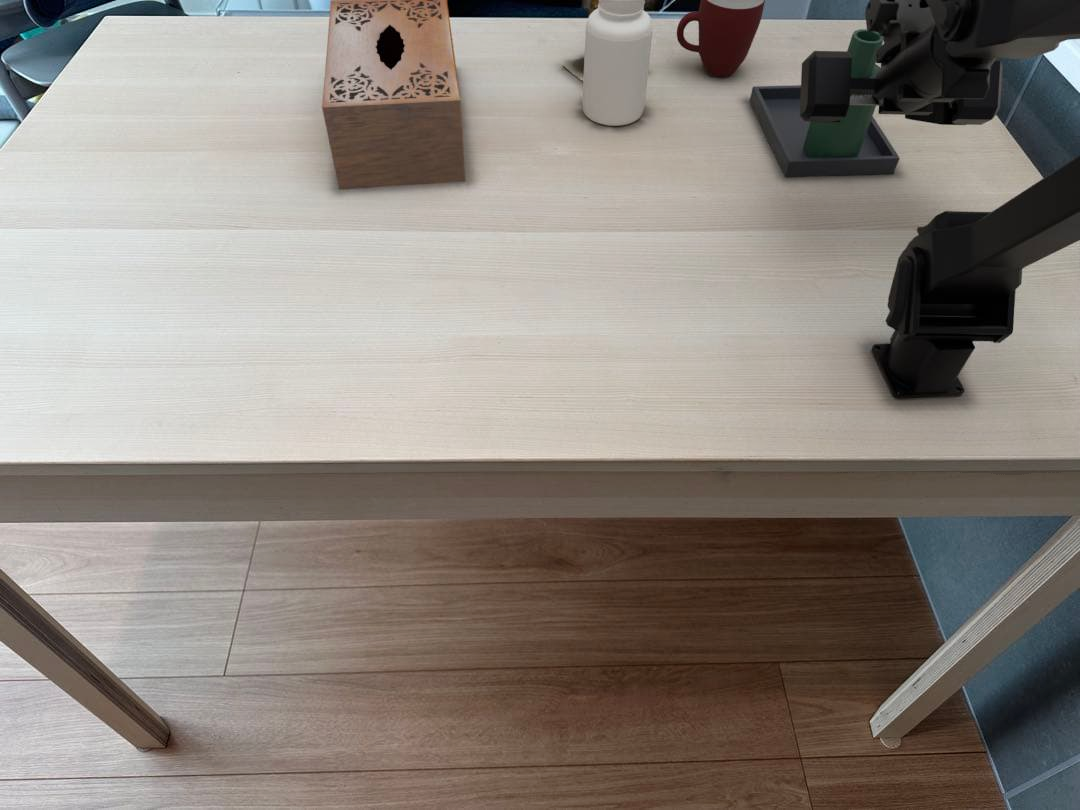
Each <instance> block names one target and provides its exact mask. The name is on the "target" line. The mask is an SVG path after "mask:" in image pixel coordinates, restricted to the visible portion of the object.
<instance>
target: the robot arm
mask: <svg viewBox="0 0 1080 810" xmlns="http://www.w3.org/2000/svg"><path fill="white" fill-rule="evenodd" d="M864 16H865V26H866V29H867V30H868V31H869V32H878V33H879V36H883V43H882V46H881V47H880V48H878V49H877V53H876V64H880V69H879V70H878V72H877V74H876V77H875V78H851V66H852V57H851V55H850V53H849V51H847V50H846V51H845V50H844V51H843V50H813V51H812V52H811V54H809V55H808V56H807V57H806V58H805V59H804V60H803V61H802V63H801V74H800V75H801V76H800V77H801V78H800V85H801V98H800V116H801V118H802V119H803V120H804V121H805V122H823V123H840V120H842V119H843V118H845V117H846V114H847V111H848V108H849V105H873V106H876V107H877V106H878V115H899V116H900V115H901V116H902V115H904V118H905V119H906V120H911V121H915V122H916V121H917V122H923V123H929V124H934V125H939V126H940V125H941V126H969V125H971V126H972V125H973V126H982V125H984V124H986V123H988V122H990V121H992V120H993V119H994V118H995V117H996V116H997V114H998V112H999V111H1000V108H1001V101H1002V100H1001V99H1002V84H1003V69H1004V68H1003V67H1004V65H1003V63H1002V61H1001V60H1000V59H1014V60H1015V59H1016V60H1017V59H1019V60H1029V59H1033V58H1036V57H1038V56H1043V55H1045V54H1047V53H1051V52H1053V51H1055V50H1057V49H1058V48H1059V46H1060V43H1062V42H1065V41H1068V40H1080V0H869V1H868V3H867V4H866V6H865V11H864ZM850 94H852V96H851V95H850ZM854 94H856V96H855V95H854ZM858 94H860V96H859V95H858ZM862 94H864V96H863V95H862ZM866 94H868V96H867V95H866ZM870 94H873V95H872V96H871V95H870ZM874 94H875V95H874ZM916 233H917V235H916V236H914V237H913V238H912V239H911V240H910V241H909V242H908V243H907V245H906V247H905V248H904V250H902V252H901V253H900V255H899V257H898V258H897V263H896V266H895V270H894V273H893V278H892V282H891V285H890V286H891V287H890V289H889V294H888V299H887V309H888V310H889V312H888V314H887V316H886V318H885V323H886V325H887V327H890V328H891V329H892V330H894V331H893V332H892V335H891V337H890V339H889V341H890V342H889V343H874V344H873V345H872V346H871V349H870V351H871V354H872V355H873V358H874V360H875V362H876V364H877V367H878V368H879V370H880V372H881V374H882V377H883V379H884V380H885V383H886V385H887V387H888V389H889V391H890V393H891V395H892V397H893V398H894V399H897V400H908V399H909V400H910V399H911V400H912V399H929V398H930V399H931V398H932V399H933V398H950V397H951V398H952V397H953V398H954V397H962V396H963V394H964V393H965V388H964V386H963V384H962V382H961V380H960V379H959V377H958V376H959V375H960V373H961V371H962V370H963V368H964V367H965V366H966V364H967V362H968V361H969V358H970V357H971V355H972V354H973V352H974V350H976V345H975V344H974V342H992V343H994V344H1000V343H1002V342H1003V341H1005V340H1006V339H1007V338H1008V337H1009V336H1011V335H1012V334H1013V332H1014V325H1015V324H1014V323H1015V322H1014V321H1015V306H1016V305H1015V304H1016V290H1017V289H1018V288H1019V287H1020V286H1021V285H1022V284H1023V283H1022V282H1023V281H1022V280H1023V269H1025V268H1026V267H1028V266H1030V265H1032V264H1034V263H1036V262H1038V261H1041V260H1043V259H1045V258H1047V257H1048V256H1051V255H1053V254H1055V253H1057V252H1059V251H1061V250H1064V249H1065V248H1067V247H1069V246H1071V245H1073V244H1075V243H1077V242H1079V241H1080V154H1079V155H1077V156H1076V157H1074V158H1073V159H1071V160H1069V161H1068V162H1065V164H1064V165H1062V166H1060V167H1058V168H1057V169H1056V170H1054V171H1053V172H1051V173H1049V174H1048V175H1047V176H1045V177H1043V178H1042V179H1040V180H1038V181H1037V182H1035V183H1034V184H1033V185H1031V186H1029V187H1027V188H1026V189H1025V190H1023V191H1022V192H1019V194H1017V195H1015V196H1014V197H1013V198H1011V199H1009V200H1008V201H1006V202H1004V203H1003V204H1001V205H1000V206H999V207H997V208H996V209H994V210H992V211H959V210H955V211H954V210H953V211H952V210H944V211H943V212H942V211H941V213H939V214H937V215H935V216H934V217H933V218H932V219H931V221H929V223H927V224H926V225H924V226H917V227H916Z"/></svg>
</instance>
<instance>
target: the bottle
mask: <svg viewBox="0 0 1080 810" xmlns="http://www.w3.org/2000/svg"><path fill="white" fill-rule="evenodd" d="M883 44H884V40H883V36H879V33H878V32H869V31H868V30H867V28H866V29H865V28H864V29H863V28H862V29H861V28H860V29H856V30H854V31H853V33H852V34H851V38H850V41H849V44H848V48H847V50H846V51H849V53H850V55H851V57H852V66H851V78H875V77H876V74H877V72H878V70H879V69H880V68H881V66H879V65H878V64H877V63H876V53H877V49H878V48H880V47H881V46H882V45H883ZM850 95H851V96H852V94H850ZM854 95H855V96H856V94H854ZM858 95H859V96H860V94H858ZM862 95H863V96H864V94H862ZM866 95H867V96H868V94H866ZM870 95H871V96H872V95H873V94H870ZM874 95H875V94H874ZM876 108H877V106H873V105H849V108H848V111H847V114H846V117H845V118H843V119H842V120H840V123H823V122H810V126H809V129H808V132H807V136H806V139H805V142H804V146H803V150H804V152H805V154H806V155H807V156H808V157H809V158H833V157H858V155H859V152H860V149H861V146H862V143H863V141H864V138H865V135H866V132H867V130H868V127H869V124H870V121H871V119H872V116H873V117H874V113H875V110H876Z"/></svg>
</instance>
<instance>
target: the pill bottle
mask: <svg viewBox="0 0 1080 810" xmlns="http://www.w3.org/2000/svg"><path fill="white" fill-rule="evenodd" d="M645 3H646V0H599V4H598V8H597V9H596V10H594V11H593V12H592V13H591V14H590V16H589V15H588V18H587V20H586V24H585V38H584V56H583V57H584V78H583V81H582V82H583V83H582V84H583V85H582V99H581V100H582V101H581V103H582V111H583V114H584V115H585V117H586V118H587V119H589V120H591V121H592V122H594V123H597V124H600V125H603V126H611V127H613V126H615V127H616V126H617V127H618V126H625V125H630V124H633V123H634V122H636V121H637V120H639V119H640V118H641V117H642V115H643V113H644V109H645V102H646V94H647V87H648V77H649V67H650V57H651V49H652V48H651V47H652V40H653V33H654V32H653V31H654V25H653V21H652V18H651V16H650V15H649V14H648V13H647V11H645V10H644V9H645Z"/></svg>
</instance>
